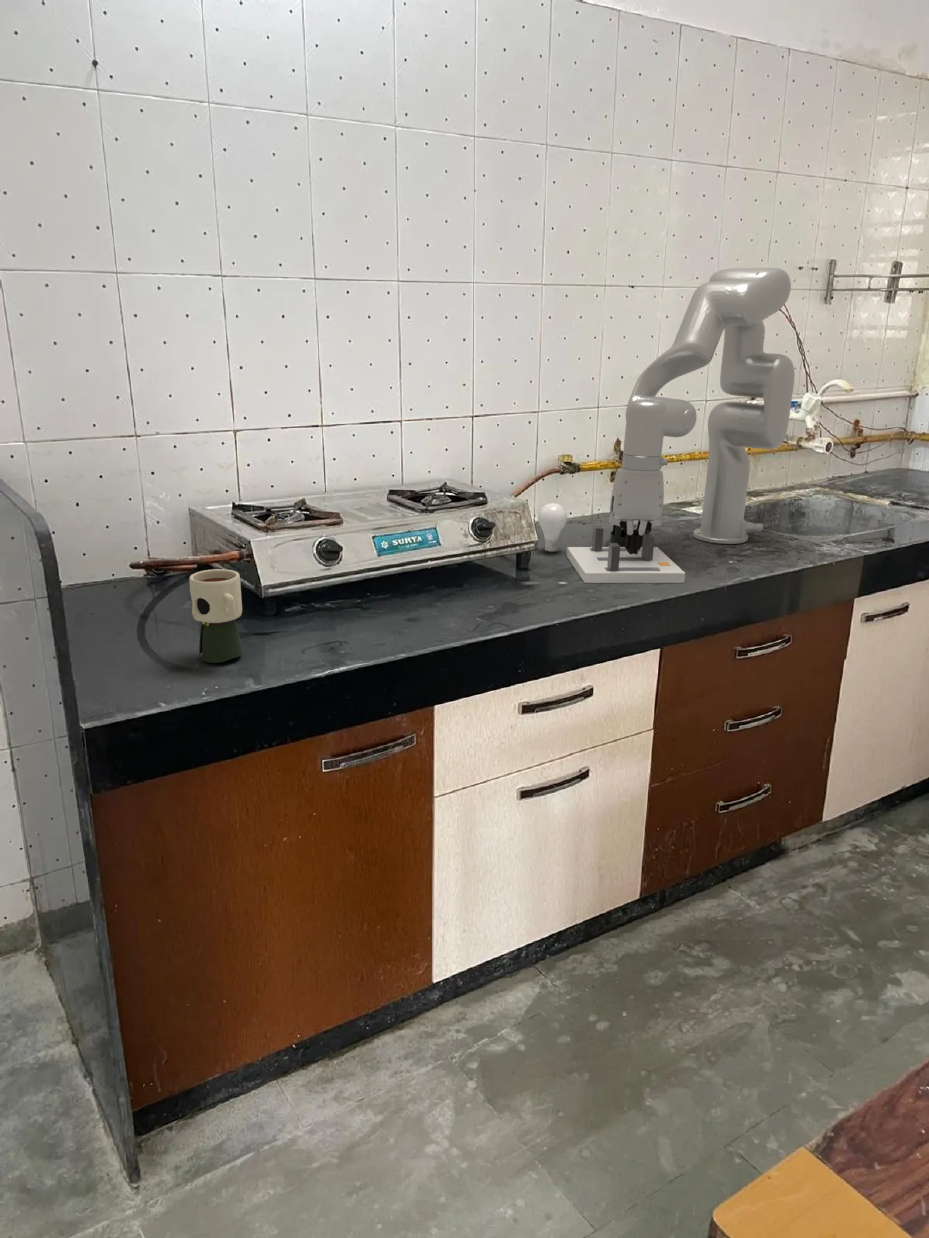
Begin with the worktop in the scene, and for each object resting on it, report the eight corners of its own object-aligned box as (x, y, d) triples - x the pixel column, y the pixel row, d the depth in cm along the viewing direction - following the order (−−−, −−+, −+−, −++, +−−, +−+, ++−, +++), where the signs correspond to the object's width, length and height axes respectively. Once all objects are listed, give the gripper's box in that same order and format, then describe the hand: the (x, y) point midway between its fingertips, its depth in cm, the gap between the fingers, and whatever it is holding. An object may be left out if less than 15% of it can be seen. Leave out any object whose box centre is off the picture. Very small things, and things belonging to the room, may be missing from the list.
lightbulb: (563, 557, 188) (566, 507, 185) (534, 554, 190) (537, 505, 186) (566, 549, 194) (569, 501, 191) (538, 547, 196) (540, 499, 192)
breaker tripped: (648, 556, 182) (650, 533, 180) (652, 559, 179) (654, 537, 177) (641, 556, 182) (643, 533, 180) (644, 559, 179) (646, 537, 177)
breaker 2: (615, 566, 174) (617, 543, 172) (618, 570, 171) (620, 546, 170) (607, 566, 174) (609, 543, 172) (610, 570, 171) (612, 546, 170)
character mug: (183, 652, 132) (175, 570, 128) (227, 642, 136) (221, 563, 132) (214, 675, 124) (206, 589, 120) (259, 664, 129) (254, 580, 124)
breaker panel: (656, 556, 191) (657, 546, 190) (684, 582, 172) (685, 572, 171) (566, 555, 189) (567, 546, 189) (584, 583, 171) (585, 572, 170)
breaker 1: (599, 547, 188) (600, 525, 186) (601, 550, 185) (603, 528, 184) (591, 547, 188) (593, 525, 186) (594, 550, 185) (596, 528, 184)
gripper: (672, 462, 178) (662, 549, 183) (600, 459, 177) (592, 547, 183) (683, 467, 171) (672, 558, 176) (608, 465, 170) (599, 556, 176)
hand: (632, 552), depth 179 cm, fingers closed
